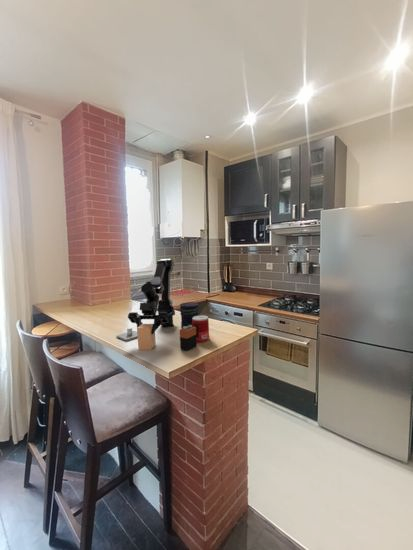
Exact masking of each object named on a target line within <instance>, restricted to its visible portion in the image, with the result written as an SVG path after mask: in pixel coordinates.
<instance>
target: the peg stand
mask: <svg viewBox="0 0 413 550" xmlns="http://www.w3.org/2000/svg"><path fill="white" fill-rule="evenodd" d="M115 337H117V339H119V338H120V339H119V340H121V339H122V341H124V340H125V341H124V342H126V341H127V342H129V340H130V341H133V340H135V339H138V336H137V330H133V327H127V328H126V332H124V333H120V334H118V335H116V336H115ZM132 339H133V340H132Z"/></svg>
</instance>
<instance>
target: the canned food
mask: <svg viewBox="0 0 413 550" xmlns="http://www.w3.org/2000/svg"><path fill="white" fill-rule="evenodd" d="M198 315H199V314H198ZM209 323H210V322H209V316H207V315H203V314H201V315H199V316H194V317H193V318H192V325H193V326H194V327H196V340H197V343H205V342H208V341H209V339H210V326H209V325H210V324H209Z"/></svg>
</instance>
